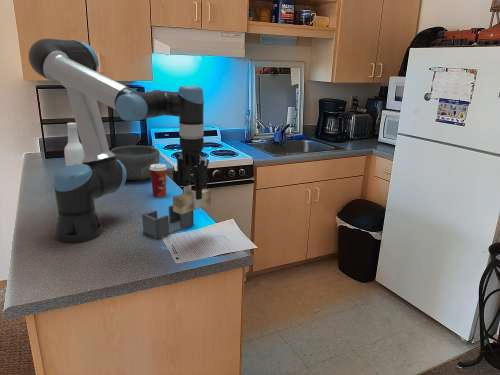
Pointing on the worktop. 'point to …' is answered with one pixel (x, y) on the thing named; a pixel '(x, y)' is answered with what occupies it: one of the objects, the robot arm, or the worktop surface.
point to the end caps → (166, 223)
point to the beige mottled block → (190, 201)
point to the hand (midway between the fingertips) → (192, 205)
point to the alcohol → (73, 147)
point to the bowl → (137, 160)
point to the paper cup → (158, 179)
